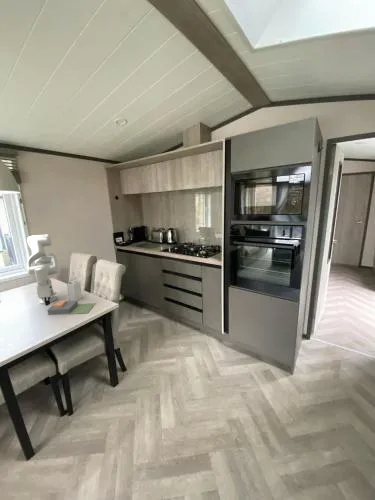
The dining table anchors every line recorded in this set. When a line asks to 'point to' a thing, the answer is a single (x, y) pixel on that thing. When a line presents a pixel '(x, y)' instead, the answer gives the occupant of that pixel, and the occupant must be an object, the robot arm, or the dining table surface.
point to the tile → (60, 304)
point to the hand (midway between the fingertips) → (47, 304)
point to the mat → (82, 308)
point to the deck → (63, 308)
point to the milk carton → (74, 289)
